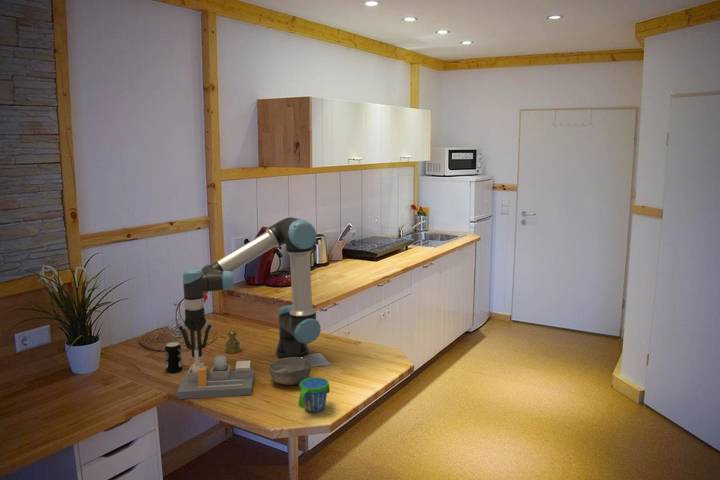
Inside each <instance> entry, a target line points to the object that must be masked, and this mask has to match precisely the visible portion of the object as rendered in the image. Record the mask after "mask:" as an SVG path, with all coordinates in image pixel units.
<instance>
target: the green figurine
mask: <svg viewBox="0 0 720 480" xmlns="http://www.w3.org/2000/svg"><path fill="white" fill-rule="evenodd" d="M226 335H227V336H228V339H227V340H225V341H224V352H225V353H227V354H236V353H239V352H241V350H242V345H241V340H240V339H238V338H237V337H236V336H237V335H238V331H236V330H233V329H231V330H229V331H227V332H226Z"/></svg>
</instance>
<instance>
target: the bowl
mask: <svg viewBox="0 0 720 480" xmlns="http://www.w3.org/2000/svg"><path fill="white" fill-rule="evenodd" d="M267 370H268V372H269V375H270V376H271V378H272V379H273V381H274V382H276V383H277V384H281V385H285V386H292V385H293V386H294V385H298V384H300V382H301V381H302V380H304V379H307V378H308V376H309V375H310V373H311V371H312V362H311V361H310V360H309V359H307V358H305V357H303V358H301V357H289V358H279V359H276V360H272V361H270V363H269V364H268V366H267Z"/></svg>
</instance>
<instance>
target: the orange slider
mask: <svg viewBox="0 0 720 480" xmlns="http://www.w3.org/2000/svg"><path fill="white" fill-rule="evenodd" d="M201 386H207V367H199V368H198V387H201Z"/></svg>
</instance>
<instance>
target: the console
mask: <svg viewBox="0 0 720 480" xmlns="http://www.w3.org/2000/svg"><path fill="white" fill-rule="evenodd" d="M204 367H207V386H201V387H198V372H195V373H192V366H189V369H188V372H187V373H184V376H183V379H182V380H181V382H180V385H179V387H178V389H177V392H176V397H177V398H176V399H177V400H189V399H206V398H209V399H211V398H222V397H223V398H227V397H241V396H240V395H246V396H252V393H253V388H254V383H253V382H255V370H254V369H252V367H250V371H239V372H236V370H233V371H232V369H231V364H227V369H226V370H224V371H215V367H214V365H212V368H211V370H210V372H209V365H204ZM226 396H227V397H226Z"/></svg>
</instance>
